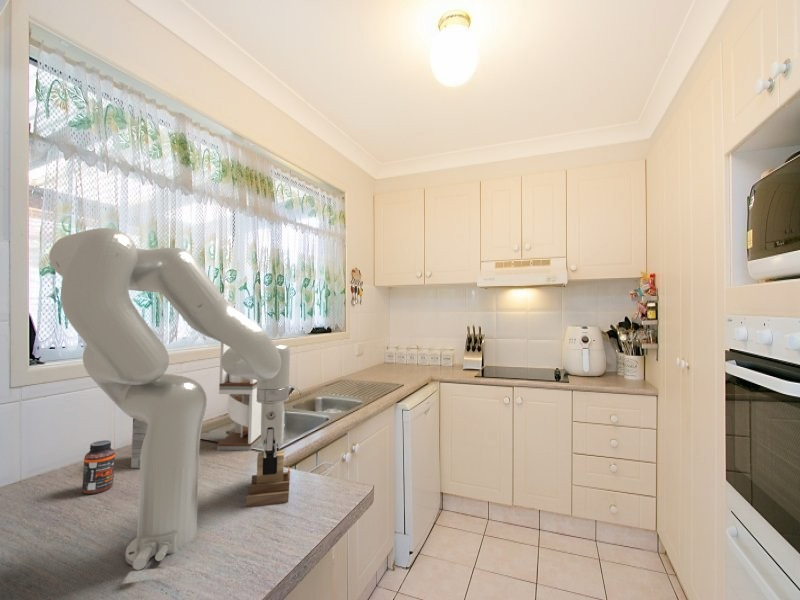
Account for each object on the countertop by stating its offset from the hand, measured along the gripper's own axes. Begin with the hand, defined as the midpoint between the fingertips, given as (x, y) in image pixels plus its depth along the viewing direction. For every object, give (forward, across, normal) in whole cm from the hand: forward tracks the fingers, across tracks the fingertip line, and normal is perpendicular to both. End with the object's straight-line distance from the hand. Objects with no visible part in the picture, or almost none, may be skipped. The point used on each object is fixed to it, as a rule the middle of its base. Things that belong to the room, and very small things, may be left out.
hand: (270, 468), depth 89 cm
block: (+5, 0, 0) cm, 5 cm away
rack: (+6, -3, 0) cm, 7 cm away
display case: (+6, +38, +12) cm, 41 cm away
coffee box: (+6, +28, +35) cm, 45 cm away
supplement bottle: (+6, +12, +41) cm, 43 cm away
